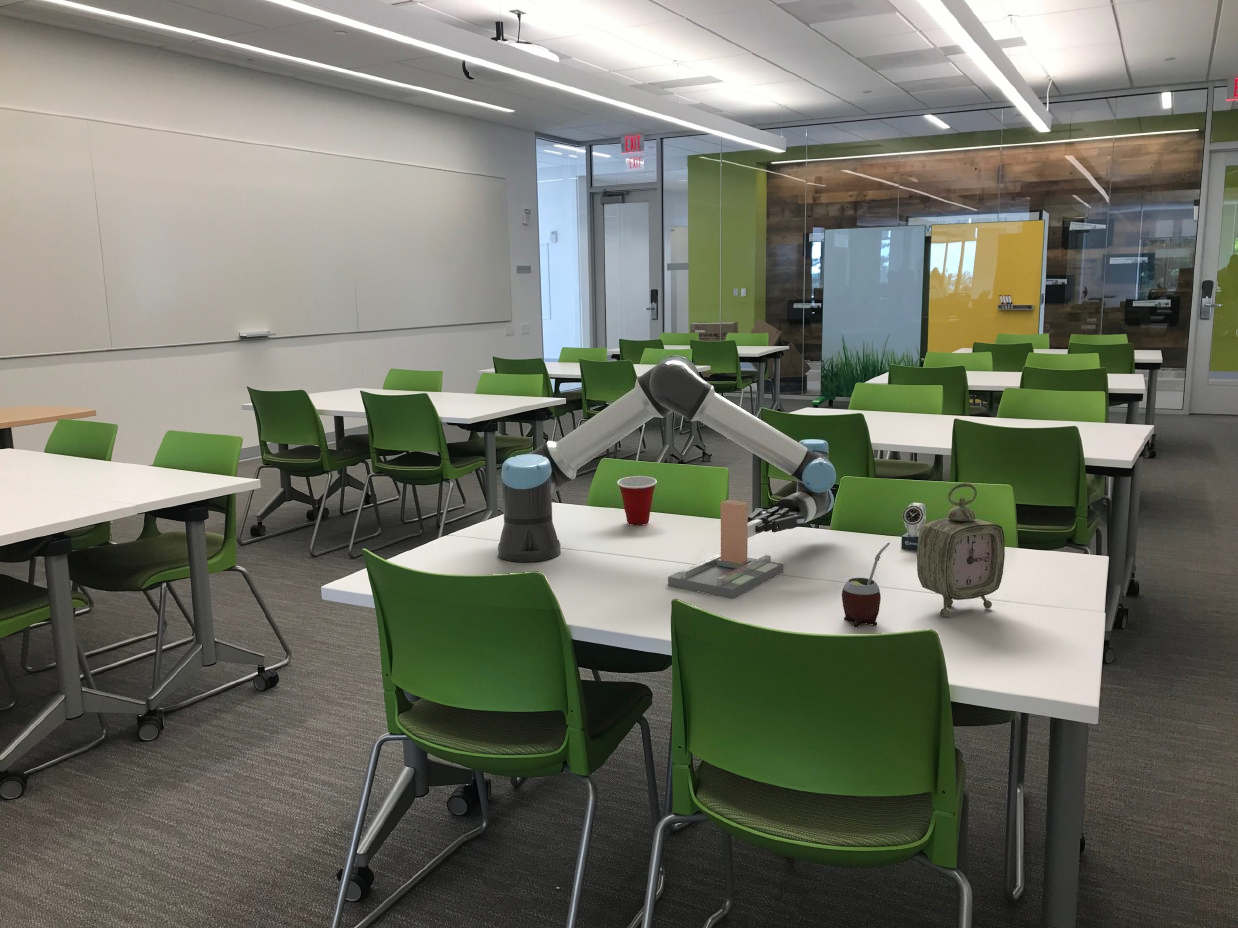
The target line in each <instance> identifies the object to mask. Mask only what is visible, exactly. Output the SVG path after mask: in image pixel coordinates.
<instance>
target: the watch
mask: <svg viewBox="0 0 1238 928" xmlns="http://www.w3.org/2000/svg"><path fill="white" fill-rule="evenodd" d="M926 510H927V509H926V505H925V504H924V503H921V502H912V503H910V504H908V507H906V508H905V509H904V510H903V513H902V520H903V522H904V527H905V528H906V531H907V532H905V533H904V534H903V535H901V544H900V546H901V547H900V549H901V550H908V551H914V552H915V551H916V552H917V549H918V538H919V533H920V530H921V527H922V526H923V525H925V524H926V521H927V515H926V514H927V513H926Z"/></svg>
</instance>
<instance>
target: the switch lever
mask: <svg viewBox="0 0 1238 928" xmlns="http://www.w3.org/2000/svg"><path fill="white" fill-rule="evenodd" d="M748 505H749V502H745V501H740V500H732V499H726V500H724V501H721V502H720V553H721V558H720V559H718V560H717V565H718V566H724V567H729V568H735V569H738V568H740V567H742V566H744V565H746V564H748V563H750V562H751V560H747V557H748V539H749V538H748V516H749V514H748V512H749V510H748V509H749V507H748Z"/></svg>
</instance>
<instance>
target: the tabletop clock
mask: <svg viewBox="0 0 1238 928" xmlns="http://www.w3.org/2000/svg"><path fill="white" fill-rule="evenodd" d="M965 487H966V488H967V487H968V488H971V489H972V490H973V492H974V493H973V494H974V495H973V496H972V497H971V498H969V499H968V500H966V499H965V497H960V498H959V499H958V500H959V501H953V500H952V498H951V495H952V493H954V491H955V490H957V489H959V488H965ZM977 495H978V491H977V488H976V487H975V485H973V484H971V483H965V482H964V483H963V482H962V483H959V484H956V485H954V486H953V487H952V488H951V489H949V492H948V494H947V500H948V502H949V503H950V504H951V505H954V507H952V508H951V509H950V510H948V513H947V516H946V517H944V518H939V519H934V520H932V521H930V522H928V523H925V525H923V526H922V527H921V530H920V533H919V538H918V549H917V551H916V571H917V573H916V574H917V578H918V581H919V583H920V585H921V587H922V588H924V589H926V590H929V591H930V592H934V593H935V594H939V595H941V596H942V598H943V608H941V609H940V615H941V616H942V617H944V618H947V617H948V616H949V615H950V610H949V609H948V607H951V606H952V605H953V604H954V601H955V600H956V601H961V600H972V599H976V598H981V599H982V601H983V603H982V604H983V607H984V608H985V609H990V608H992V606H993V602H992V601H991V600H989V599H986V596H988V595H990V594H993V593H994V592H996V591H997V590H998V589H999V588H1000V586H1001V583H1002V580H1003V576H1004V575H1003V574H1004V569H1005V568H1004V565H1005V559H1006V557H1005V554H1006V553H1005V552H1006V551H1005V550H1006V549H1005V547H1006V544H1005V543H1006V541H1005V532H1004V530H1003V526H1002V525H999V524H996V523H993V522H990V521H986V520H984V519H983V520H982V519H978V518H976V517H977V516H976V515H975V513H974V511H973V510H972V508H970V507H968V506H966V505H969V504H971V503H972V502H974V501H975V499H976V498H977Z"/></svg>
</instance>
